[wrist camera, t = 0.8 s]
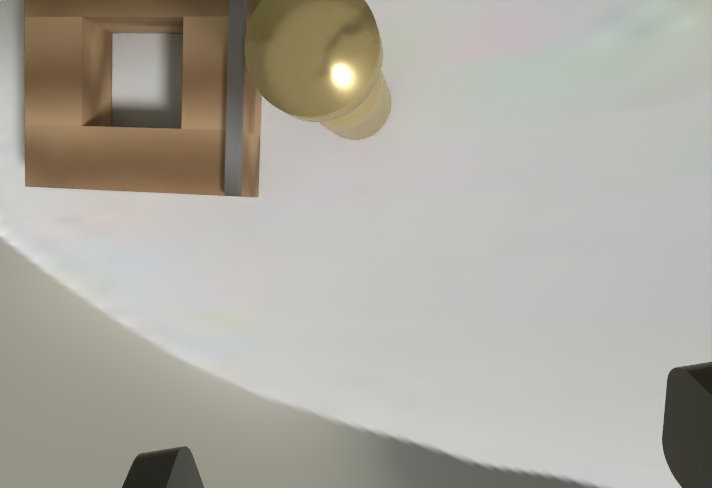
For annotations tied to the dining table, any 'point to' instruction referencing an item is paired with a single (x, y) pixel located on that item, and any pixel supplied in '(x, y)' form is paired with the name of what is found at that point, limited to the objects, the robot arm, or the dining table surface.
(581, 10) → the dining table surface
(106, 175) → the jig
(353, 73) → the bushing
